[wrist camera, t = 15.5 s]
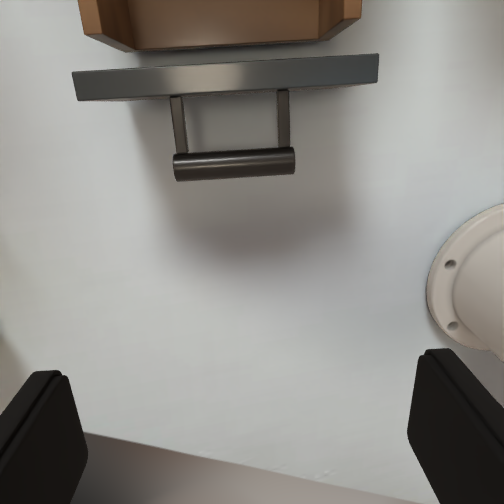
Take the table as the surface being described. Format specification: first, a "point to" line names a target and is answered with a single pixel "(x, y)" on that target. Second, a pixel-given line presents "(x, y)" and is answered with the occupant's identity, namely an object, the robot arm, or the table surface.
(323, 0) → the drawer
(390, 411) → the table surface
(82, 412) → the table surface
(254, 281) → the table surface
